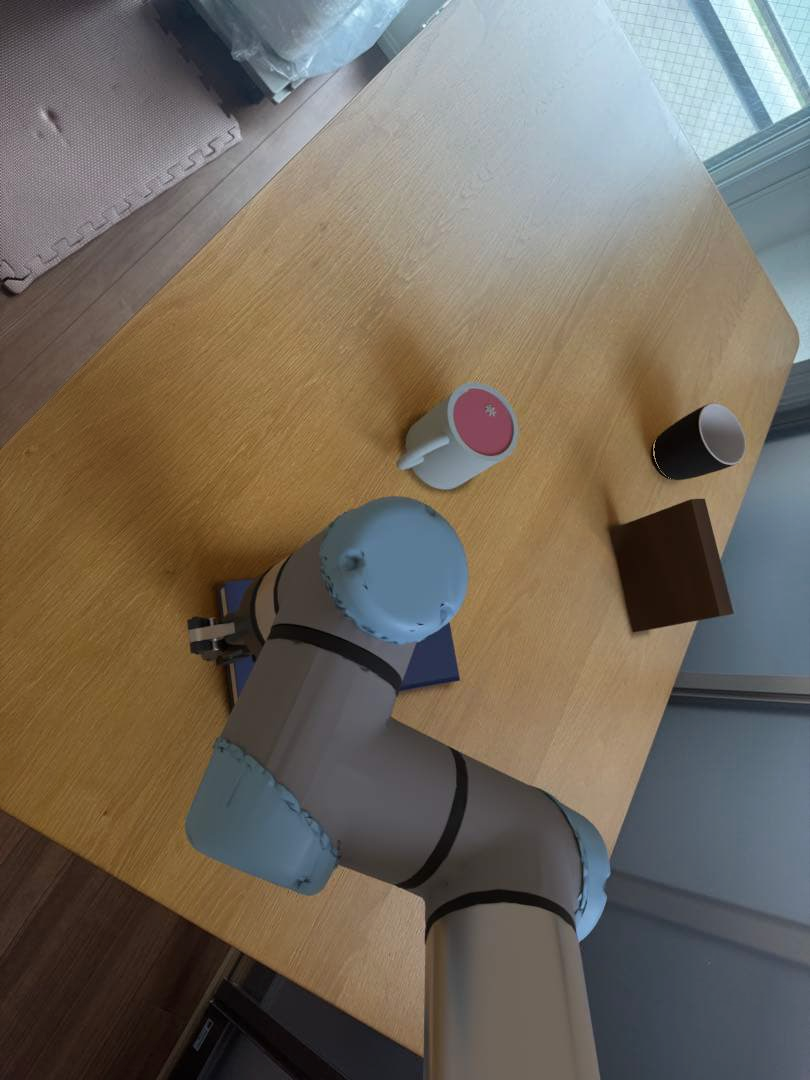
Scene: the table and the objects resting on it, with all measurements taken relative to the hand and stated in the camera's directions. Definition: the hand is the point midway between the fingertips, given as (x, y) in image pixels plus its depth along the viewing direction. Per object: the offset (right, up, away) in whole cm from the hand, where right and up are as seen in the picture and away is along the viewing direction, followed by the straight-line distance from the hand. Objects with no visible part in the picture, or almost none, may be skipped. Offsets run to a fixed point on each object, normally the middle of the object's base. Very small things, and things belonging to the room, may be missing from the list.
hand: (222, 650), depth 69 cm
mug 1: (+20, +20, +18) cm, 34 cm away
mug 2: (+56, +23, +39) cm, 72 cm away
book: (+10, 0, +8) cm, 13 cm away
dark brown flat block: (+47, +5, +28) cm, 55 cm away
